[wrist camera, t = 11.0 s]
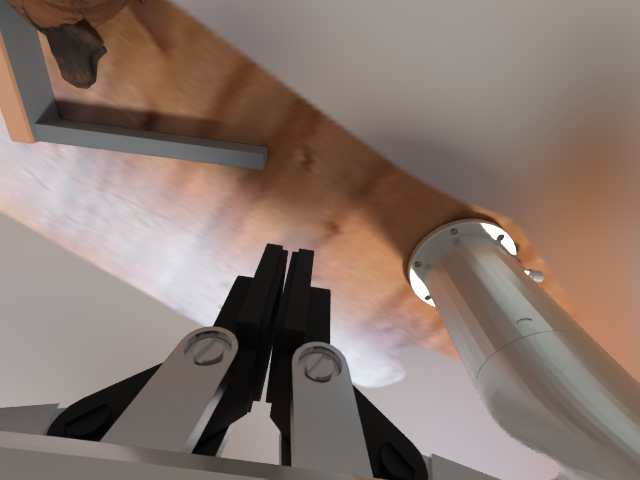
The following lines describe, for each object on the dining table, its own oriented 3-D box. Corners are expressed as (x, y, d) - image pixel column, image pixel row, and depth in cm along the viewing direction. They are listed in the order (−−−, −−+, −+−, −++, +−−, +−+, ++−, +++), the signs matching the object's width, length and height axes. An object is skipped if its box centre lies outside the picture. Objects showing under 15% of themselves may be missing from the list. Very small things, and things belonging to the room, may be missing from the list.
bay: (280, -95, 23) (273, -125, 19) (267, 161, 32) (260, 173, 28) (-35, -155, 21) (-105, -199, 18) (47, 132, 30) (11, 141, 27)
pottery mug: (-5, -72, 23) (-80, -181, 16) (136, -46, 27) (126, -125, 20) (42, 98, 26) (-4, 70, 19) (163, 99, 30) (163, 76, 23)
